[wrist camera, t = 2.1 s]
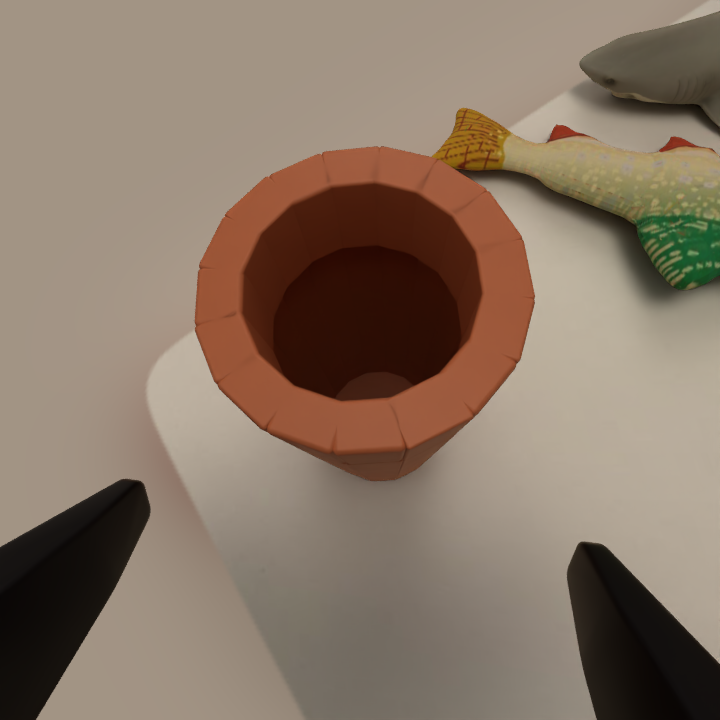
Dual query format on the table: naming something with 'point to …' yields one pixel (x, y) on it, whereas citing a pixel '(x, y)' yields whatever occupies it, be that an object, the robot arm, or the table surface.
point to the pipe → (364, 306)
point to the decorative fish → (614, 187)
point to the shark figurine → (663, 65)
